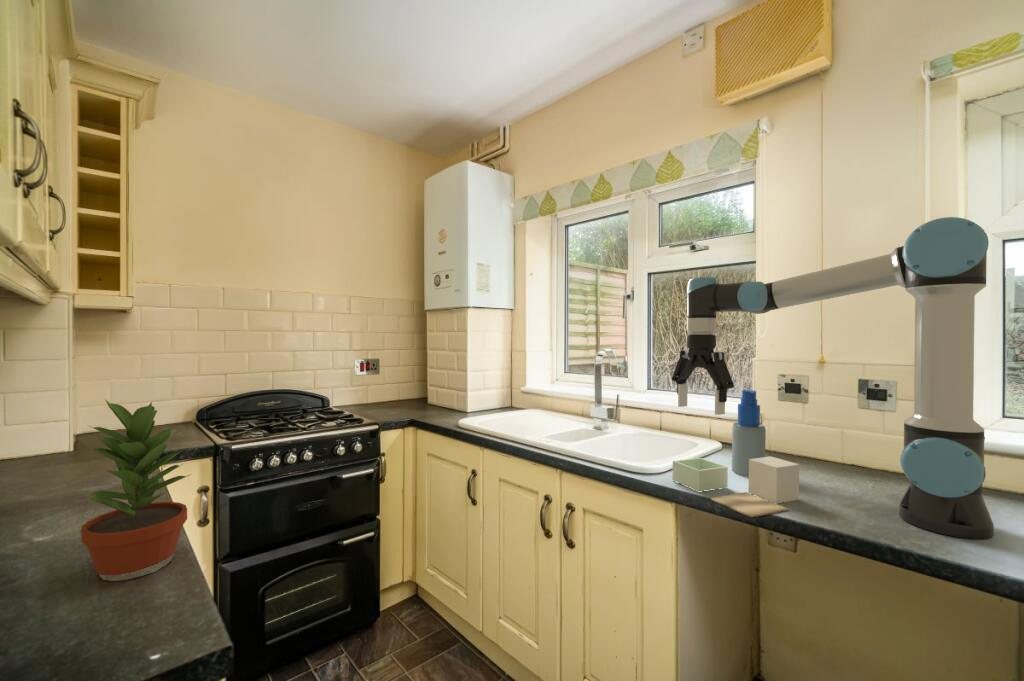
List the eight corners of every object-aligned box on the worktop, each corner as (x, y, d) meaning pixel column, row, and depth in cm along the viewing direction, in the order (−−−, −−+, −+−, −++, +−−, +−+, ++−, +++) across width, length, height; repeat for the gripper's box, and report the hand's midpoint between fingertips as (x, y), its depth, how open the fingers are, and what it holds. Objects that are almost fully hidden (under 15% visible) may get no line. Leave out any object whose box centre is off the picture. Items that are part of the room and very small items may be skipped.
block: (798, 499, 115) (799, 464, 115) (776, 503, 112) (776, 467, 112) (770, 489, 122) (770, 456, 122) (748, 493, 119) (749, 459, 119)
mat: (788, 510, 108) (788, 508, 108) (751, 517, 103) (751, 515, 103) (745, 493, 119) (745, 492, 119) (710, 499, 114) (710, 498, 114)
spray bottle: (727, 467, 142) (728, 388, 141) (757, 468, 141) (758, 388, 140) (738, 476, 133) (739, 392, 132) (770, 478, 132) (771, 392, 132)
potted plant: (189, 571, 79) (188, 400, 78) (70, 599, 70) (68, 407, 70) (194, 538, 91) (193, 390, 91) (93, 558, 83) (91, 395, 82)
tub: (727, 488, 123) (727, 467, 123) (698, 493, 119) (699, 470, 119) (699, 477, 132) (699, 457, 132) (672, 481, 129) (672, 460, 129)
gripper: (749, 334, 115) (748, 417, 115) (679, 333, 138) (679, 402, 139) (727, 333, 112) (726, 419, 113) (660, 333, 135) (659, 404, 136)
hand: (700, 410), depth 126 cm, fingers open, 13 cm apart
